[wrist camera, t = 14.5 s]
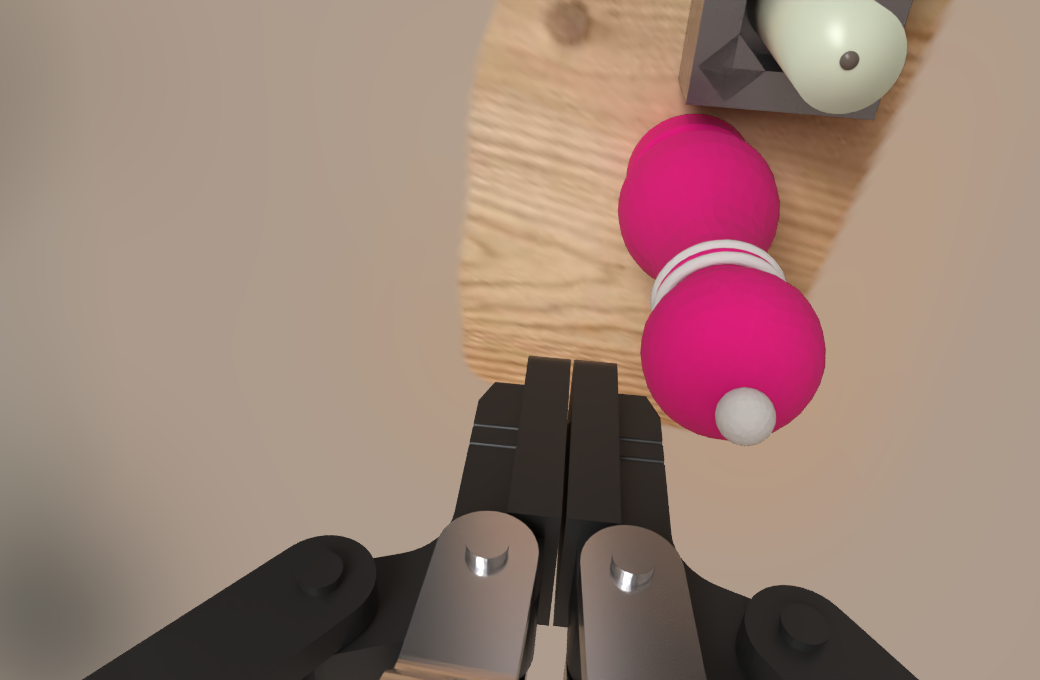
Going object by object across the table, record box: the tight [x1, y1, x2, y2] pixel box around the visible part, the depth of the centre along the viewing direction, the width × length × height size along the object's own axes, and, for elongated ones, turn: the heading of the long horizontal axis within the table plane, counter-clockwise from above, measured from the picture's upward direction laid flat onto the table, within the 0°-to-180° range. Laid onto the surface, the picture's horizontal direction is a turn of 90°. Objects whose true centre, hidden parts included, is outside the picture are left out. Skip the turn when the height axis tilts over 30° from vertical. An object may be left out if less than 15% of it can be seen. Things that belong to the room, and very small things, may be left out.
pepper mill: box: [618, 114, 826, 446], centre depth 30 cm, size 7×7×20 cm
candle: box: [746, 0, 907, 114], centre depth 29 cm, size 4×4×10 cm
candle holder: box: [678, 0, 913, 120], centre depth 32 cm, size 8×8×4 cm
